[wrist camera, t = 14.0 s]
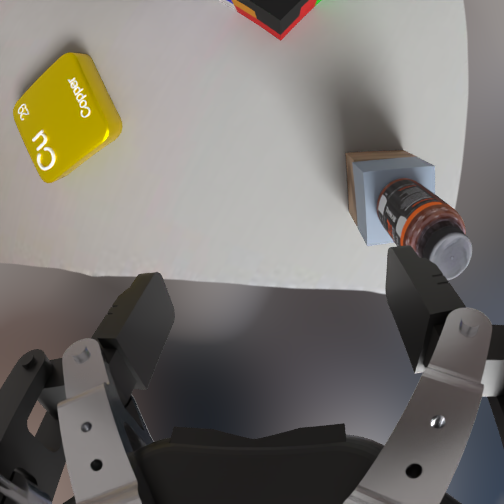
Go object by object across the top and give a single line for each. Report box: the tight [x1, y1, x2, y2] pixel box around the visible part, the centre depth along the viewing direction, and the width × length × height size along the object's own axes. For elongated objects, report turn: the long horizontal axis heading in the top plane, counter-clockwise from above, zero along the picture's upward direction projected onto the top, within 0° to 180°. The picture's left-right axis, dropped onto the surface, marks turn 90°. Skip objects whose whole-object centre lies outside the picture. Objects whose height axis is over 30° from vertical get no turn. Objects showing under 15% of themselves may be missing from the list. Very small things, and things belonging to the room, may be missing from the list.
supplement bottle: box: [377, 178, 472, 280], centre depth 24 cm, size 6×6×11 cm
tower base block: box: [345, 150, 416, 226], centre depth 36 cm, size 8×8×5 cm
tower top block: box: [352, 157, 435, 246], centre depth 31 cm, size 8×8×5 cm
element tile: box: [13, 52, 122, 183], centre depth 35 cm, size 15×15×5 cm
